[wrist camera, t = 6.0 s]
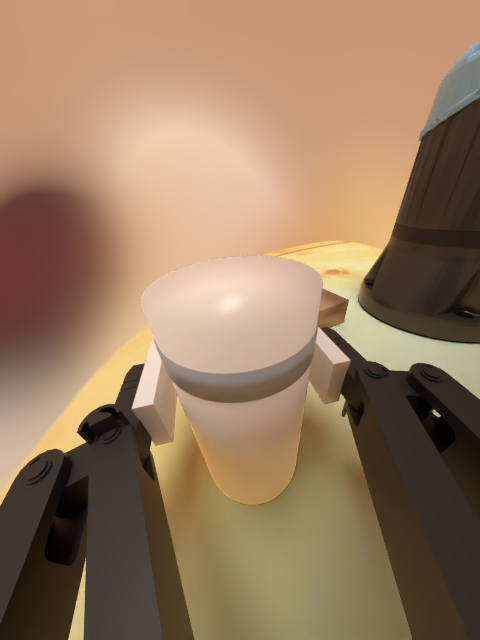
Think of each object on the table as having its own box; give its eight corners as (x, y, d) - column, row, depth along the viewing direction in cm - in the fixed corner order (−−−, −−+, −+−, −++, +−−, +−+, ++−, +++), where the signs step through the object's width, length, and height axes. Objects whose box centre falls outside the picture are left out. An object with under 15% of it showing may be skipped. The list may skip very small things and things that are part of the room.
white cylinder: (265, 393, 17) (260, 248, 10) (318, 468, 12) (373, 286, 6) (195, 428, 15) (135, 275, 8) (227, 533, 10) (145, 370, 4)
